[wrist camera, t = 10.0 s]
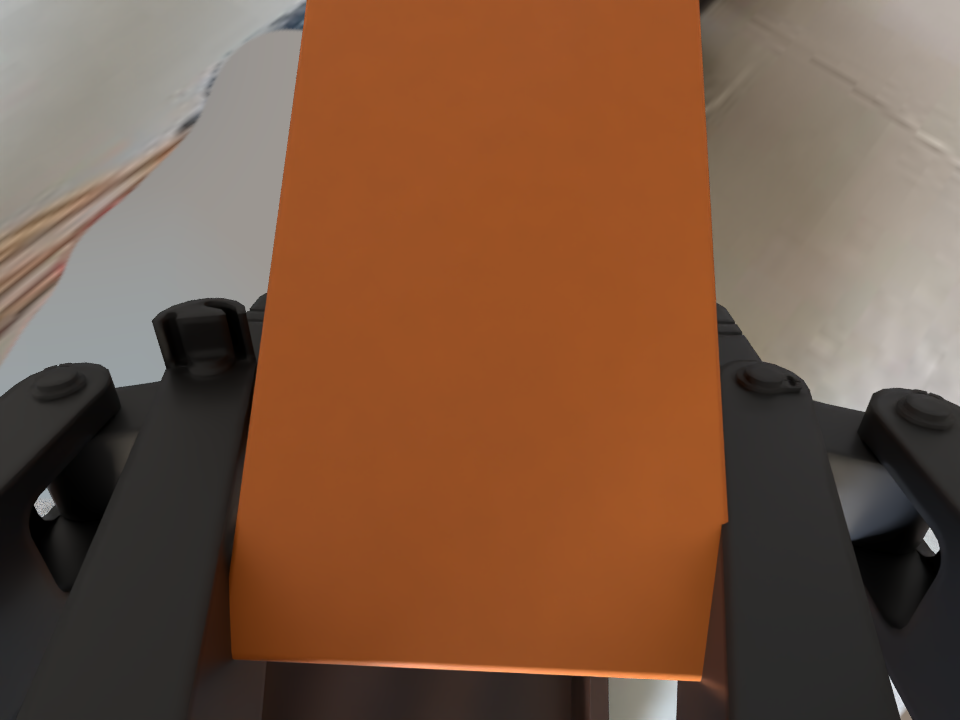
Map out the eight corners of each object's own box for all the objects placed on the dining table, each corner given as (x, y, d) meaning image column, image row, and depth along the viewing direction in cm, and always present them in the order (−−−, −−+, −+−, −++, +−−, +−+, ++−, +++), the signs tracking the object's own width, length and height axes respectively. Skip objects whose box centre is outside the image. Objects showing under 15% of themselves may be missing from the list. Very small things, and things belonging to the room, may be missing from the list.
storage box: (584, 552, 33) (606, 563, 26) (585, 843, 29) (612, 940, 23) (263, 540, 33) (206, 548, 27) (231, 824, 30) (156, 914, 23)
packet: (404, 554, 20) (207, 665, 6) (420, 324, 22) (303, -27, 8) (555, 560, 20) (746, 691, 6) (558, 330, 22) (704, -14, 8)
